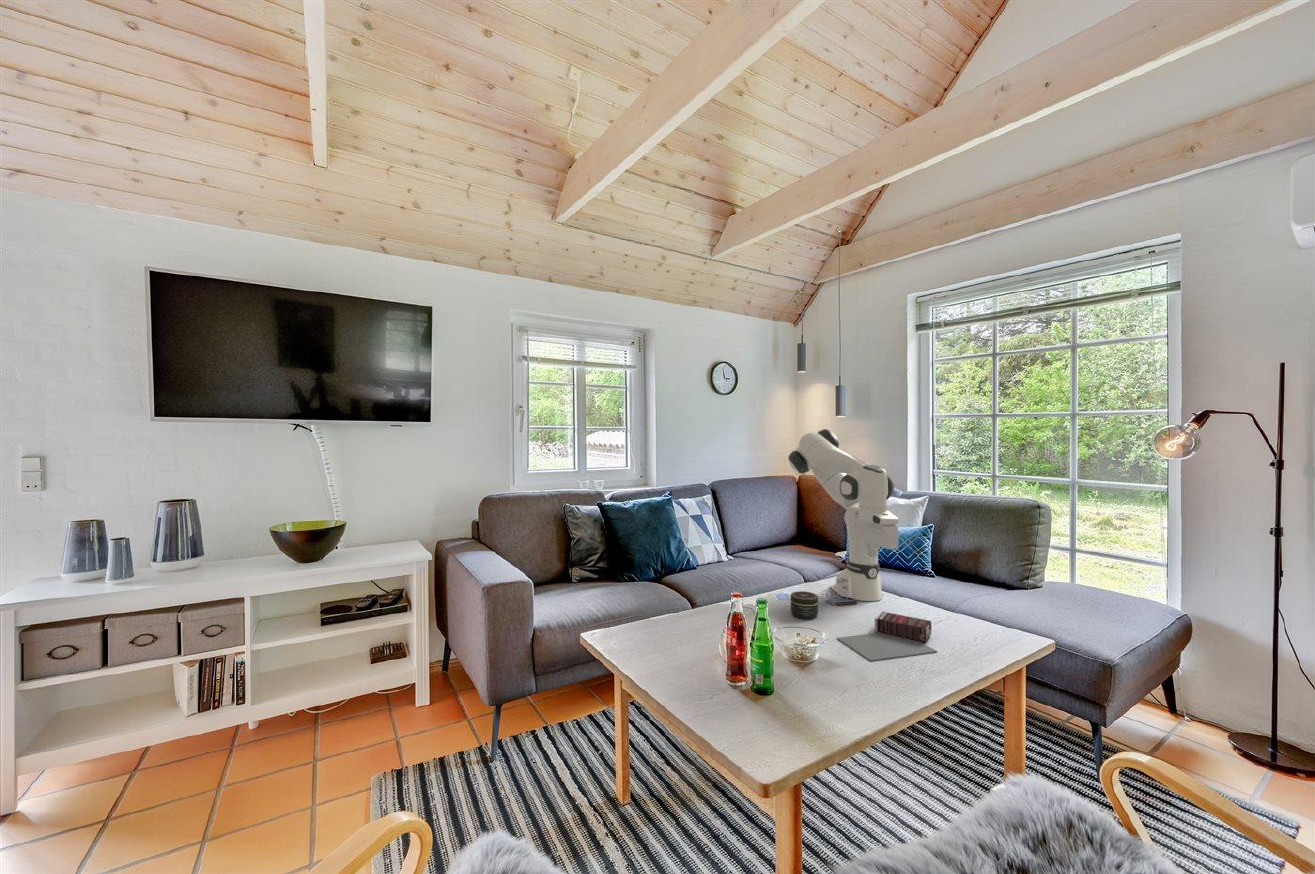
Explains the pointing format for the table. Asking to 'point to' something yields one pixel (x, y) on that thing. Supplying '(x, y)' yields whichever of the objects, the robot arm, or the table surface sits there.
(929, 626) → the supplement box
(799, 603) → the jar
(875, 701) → the table surface
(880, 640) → the mat
